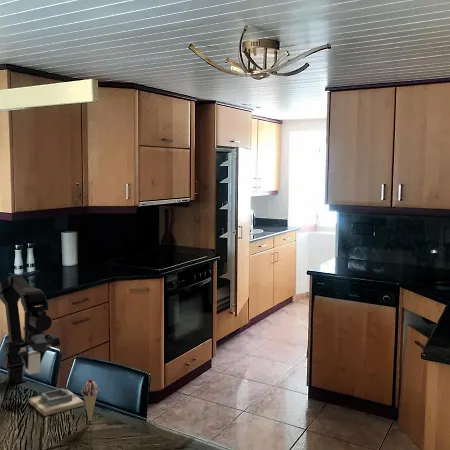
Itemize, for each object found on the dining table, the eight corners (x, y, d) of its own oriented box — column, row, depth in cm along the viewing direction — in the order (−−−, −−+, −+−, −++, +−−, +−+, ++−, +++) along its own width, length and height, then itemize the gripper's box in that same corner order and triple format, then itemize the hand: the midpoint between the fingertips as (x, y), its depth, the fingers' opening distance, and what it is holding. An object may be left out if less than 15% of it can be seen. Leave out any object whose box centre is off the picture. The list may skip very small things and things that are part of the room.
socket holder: (29, 402, 178) (29, 392, 178) (67, 392, 187) (67, 383, 187) (44, 416, 167) (44, 405, 167) (83, 405, 177) (83, 395, 176)
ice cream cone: (79, 422, 163) (79, 377, 163) (97, 419, 166) (97, 375, 165) (82, 430, 158) (82, 383, 157) (100, 427, 161) (101, 381, 160)
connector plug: (25, 371, 183) (25, 352, 183) (36, 369, 186) (36, 350, 185) (29, 374, 180) (29, 355, 180) (40, 372, 183) (40, 353, 182)
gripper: (13, 334, 170) (13, 379, 171) (67, 326, 182) (66, 368, 183) (3, 327, 178) (3, 370, 179) (54, 319, 191) (54, 360, 191)
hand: (32, 367), depth 183 cm, fingers closed on connector plug, 4 cm apart
